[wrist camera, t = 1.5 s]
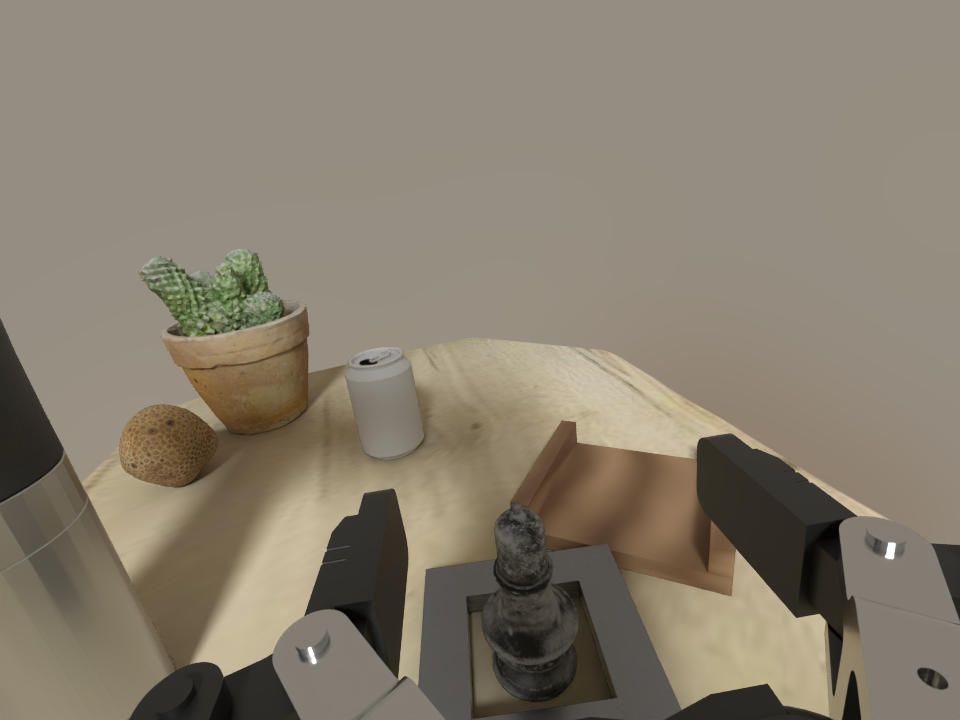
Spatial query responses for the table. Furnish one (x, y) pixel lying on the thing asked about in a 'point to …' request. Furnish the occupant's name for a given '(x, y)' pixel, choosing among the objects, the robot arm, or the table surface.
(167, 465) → the natural sponge
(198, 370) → the potted plant
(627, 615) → the socket frame
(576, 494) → the brown piece
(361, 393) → the can
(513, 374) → the table surface
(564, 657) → the salt shaker
